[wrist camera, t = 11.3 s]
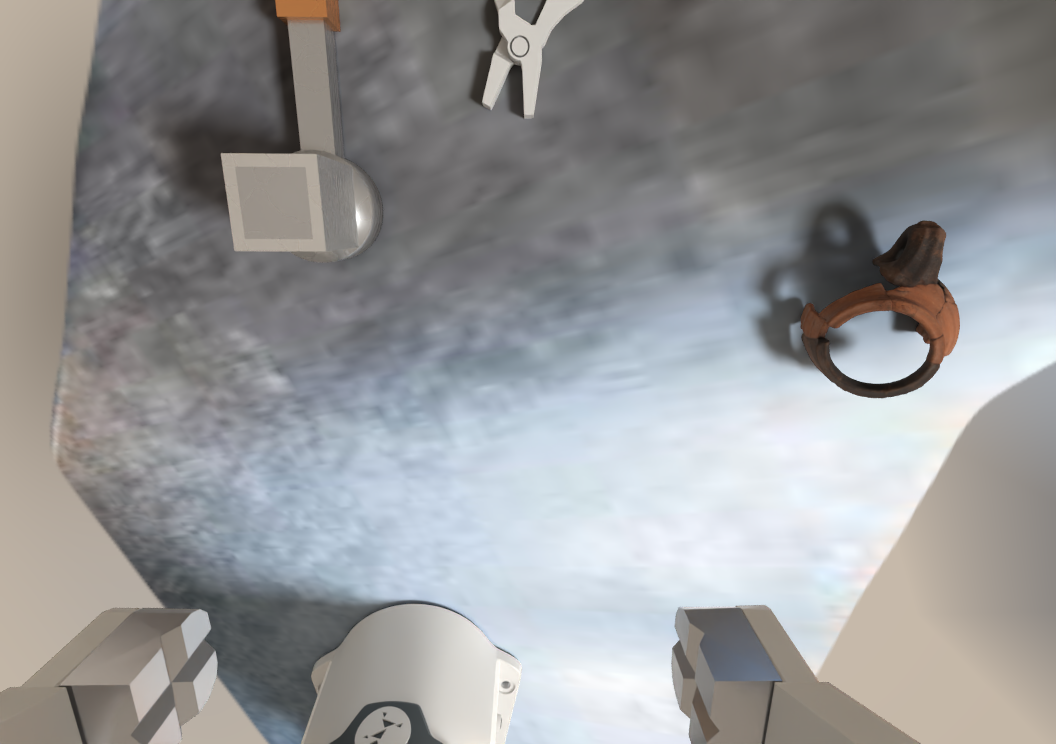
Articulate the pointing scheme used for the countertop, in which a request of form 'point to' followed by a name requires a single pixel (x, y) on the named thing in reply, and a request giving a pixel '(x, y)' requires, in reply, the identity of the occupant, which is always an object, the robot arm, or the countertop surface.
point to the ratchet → (325, 110)
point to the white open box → (290, 202)
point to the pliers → (522, 49)
